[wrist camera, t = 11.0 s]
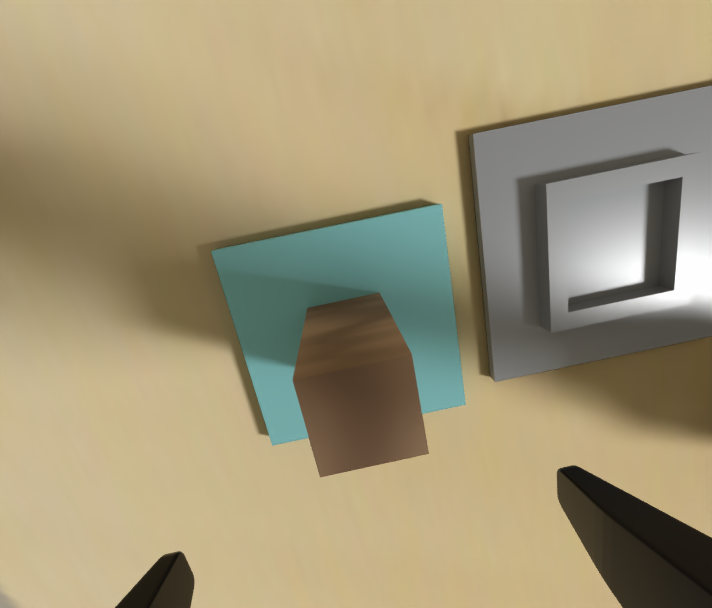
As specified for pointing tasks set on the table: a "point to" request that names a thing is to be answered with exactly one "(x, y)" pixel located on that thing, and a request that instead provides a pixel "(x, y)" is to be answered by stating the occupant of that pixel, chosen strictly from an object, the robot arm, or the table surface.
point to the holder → (595, 232)
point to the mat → (336, 283)
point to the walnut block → (357, 387)
